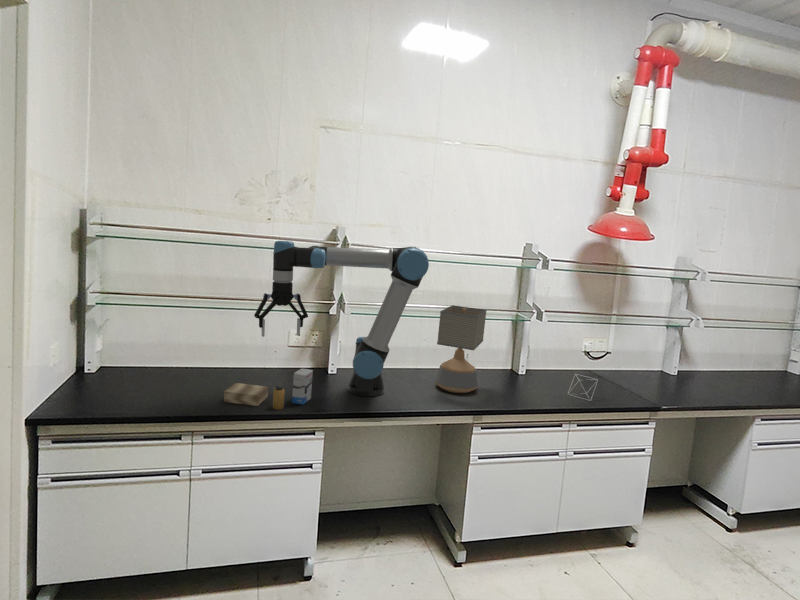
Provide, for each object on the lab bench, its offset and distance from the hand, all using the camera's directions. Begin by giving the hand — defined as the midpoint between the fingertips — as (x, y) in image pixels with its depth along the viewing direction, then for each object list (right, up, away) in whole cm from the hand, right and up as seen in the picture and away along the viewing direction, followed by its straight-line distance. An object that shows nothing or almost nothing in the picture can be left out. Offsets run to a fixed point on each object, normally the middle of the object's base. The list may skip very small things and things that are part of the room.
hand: (280, 335), depth 209 cm
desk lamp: (+71, -26, +33) cm, 83 cm away
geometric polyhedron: (+130, -31, +39) cm, 139 cm away
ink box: (+8, -25, -1) cm, 27 cm away
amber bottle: (+1, -26, -10) cm, 28 cm away
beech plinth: (-12, -24, -4) cm, 27 cm away
